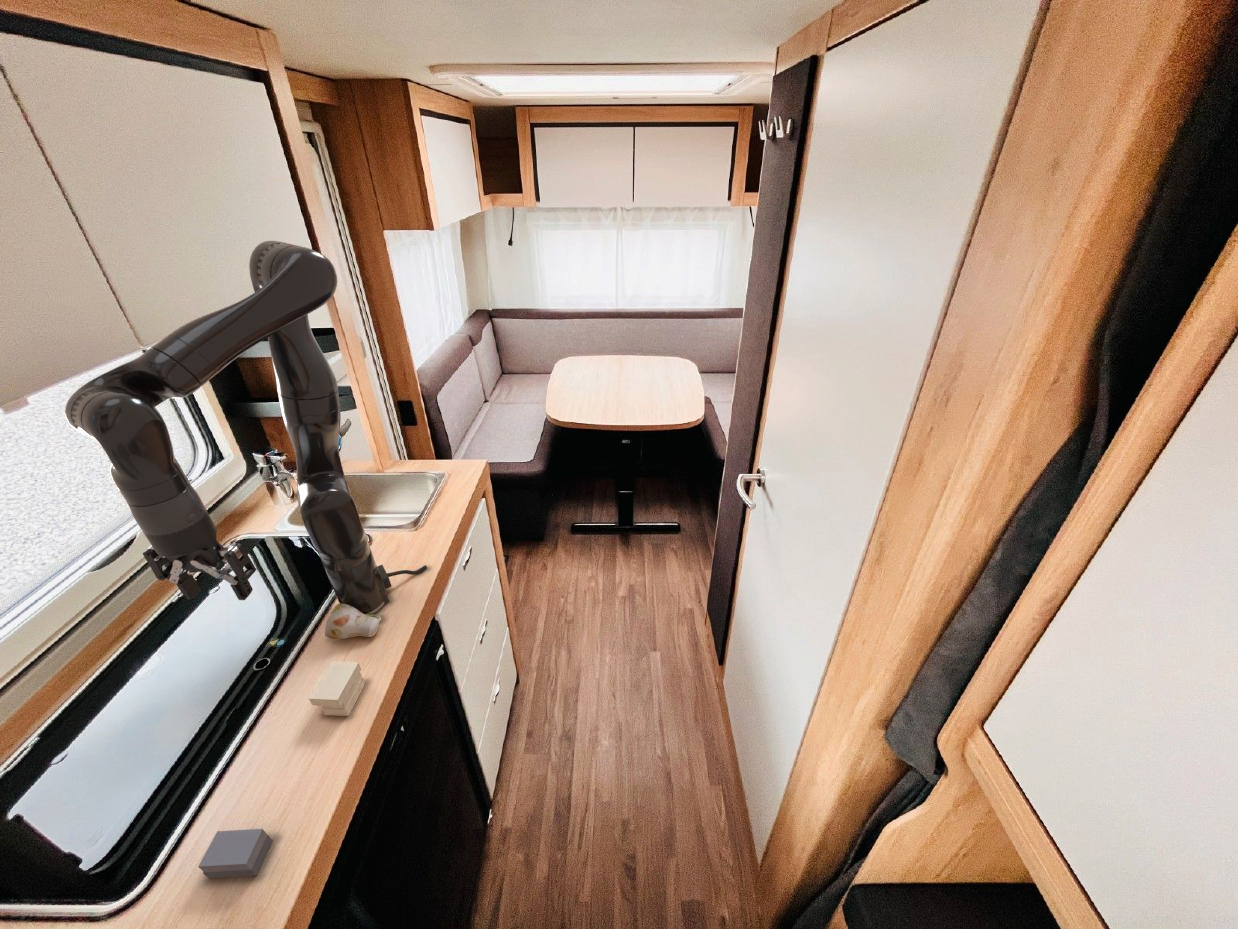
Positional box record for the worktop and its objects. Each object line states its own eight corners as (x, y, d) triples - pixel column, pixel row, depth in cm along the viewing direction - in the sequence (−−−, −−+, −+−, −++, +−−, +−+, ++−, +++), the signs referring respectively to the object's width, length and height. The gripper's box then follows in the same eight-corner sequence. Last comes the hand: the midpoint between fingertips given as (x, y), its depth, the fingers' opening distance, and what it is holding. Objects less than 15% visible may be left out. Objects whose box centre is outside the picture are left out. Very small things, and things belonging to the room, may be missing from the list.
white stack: (343, 682, 98) (336, 669, 96) (365, 683, 98) (359, 670, 95) (325, 715, 92) (318, 702, 90) (348, 716, 92) (342, 703, 90)
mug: (378, 647, 105) (339, 626, 99) (347, 652, 109) (307, 633, 103) (392, 613, 110) (356, 591, 104) (362, 620, 114) (325, 599, 108)
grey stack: (208, 879, 72) (196, 867, 69) (227, 843, 75) (216, 830, 73) (256, 876, 72) (245, 864, 70) (273, 840, 76) (262, 828, 73)
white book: (340, 706, 89) (337, 700, 88) (312, 705, 90) (308, 698, 88) (361, 669, 96) (358, 662, 95) (334, 667, 96) (331, 661, 95)
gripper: (238, 502, 77) (277, 580, 85) (147, 501, 77) (194, 578, 86) (203, 534, 71) (248, 615, 79) (103, 532, 71) (159, 613, 79)
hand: (220, 595), depth 82 cm, fingers open, 8 cm apart
